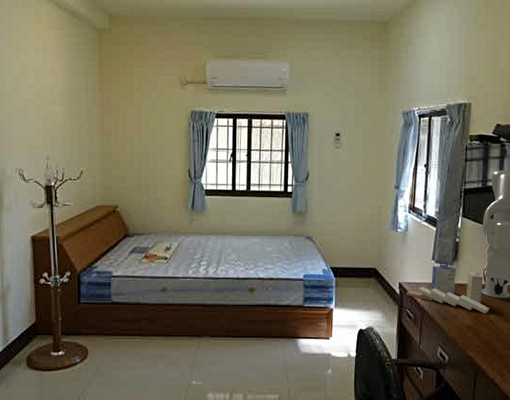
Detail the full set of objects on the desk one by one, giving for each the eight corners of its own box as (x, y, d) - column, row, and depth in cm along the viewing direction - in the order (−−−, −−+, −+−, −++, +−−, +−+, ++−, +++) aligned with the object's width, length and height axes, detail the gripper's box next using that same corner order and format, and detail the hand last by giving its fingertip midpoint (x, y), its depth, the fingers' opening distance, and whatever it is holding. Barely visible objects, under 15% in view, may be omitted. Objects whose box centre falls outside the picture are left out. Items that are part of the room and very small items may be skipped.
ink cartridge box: (450, 290, 254) (453, 261, 252) (454, 294, 249) (457, 264, 247) (430, 289, 254) (432, 260, 252) (433, 293, 249) (436, 263, 247)
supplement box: (480, 305, 233) (483, 277, 231) (469, 304, 234) (472, 276, 232) (476, 299, 241) (479, 272, 239) (465, 298, 242) (468, 271, 240)
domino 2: (445, 301, 237) (421, 289, 244) (446, 298, 236) (422, 286, 244) (441, 303, 233) (417, 291, 241) (442, 300, 233) (418, 288, 240)
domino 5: (488, 311, 225) (461, 298, 232) (489, 308, 225) (462, 294, 232) (484, 313, 222) (458, 300, 229) (486, 310, 221) (459, 297, 228)
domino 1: (435, 299, 240) (410, 293, 248) (435, 296, 240) (410, 290, 247) (431, 301, 237) (406, 295, 244) (431, 298, 236) (406, 292, 244)
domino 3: (457, 304, 233) (433, 291, 240) (459, 301, 232) (434, 288, 240) (454, 306, 230) (429, 293, 237) (455, 303, 229) (430, 290, 236)
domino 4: (473, 307, 229) (447, 295, 236) (474, 304, 229) (449, 291, 235) (470, 310, 226) (444, 297, 233) (471, 306, 225) (445, 293, 232)
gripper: (481, 249, 219) (477, 291, 222) (519, 256, 210) (514, 300, 212) (487, 247, 225) (482, 288, 227) (524, 253, 215) (519, 296, 218)
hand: (498, 294), depth 220 cm, fingers closed
